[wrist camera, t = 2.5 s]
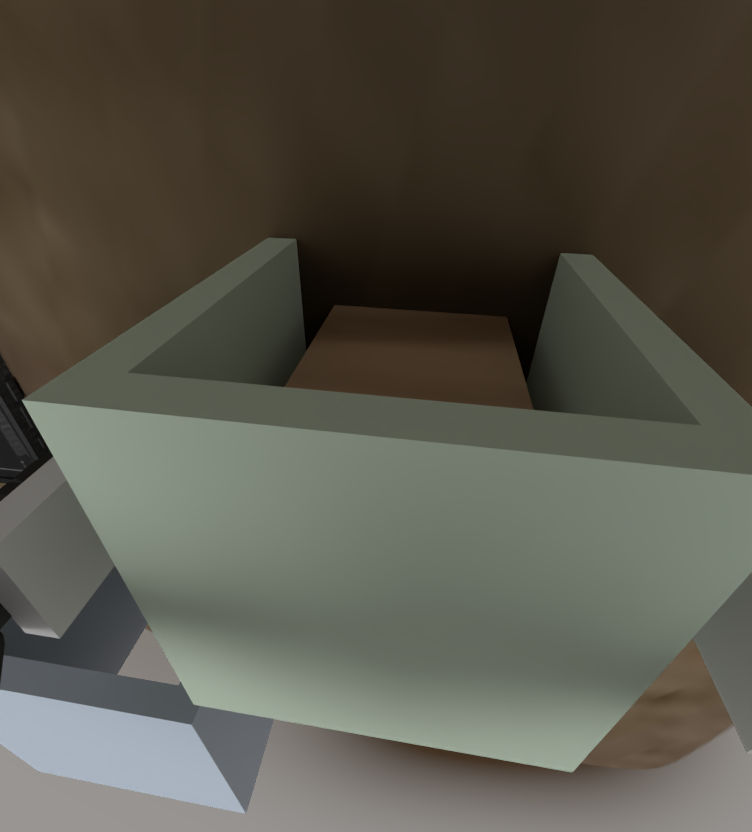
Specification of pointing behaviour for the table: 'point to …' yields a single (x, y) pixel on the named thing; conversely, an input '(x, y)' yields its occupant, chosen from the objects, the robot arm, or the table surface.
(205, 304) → the sage cover
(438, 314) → the walnut block
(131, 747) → the blue cover
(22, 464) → the phone
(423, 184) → the table surface
